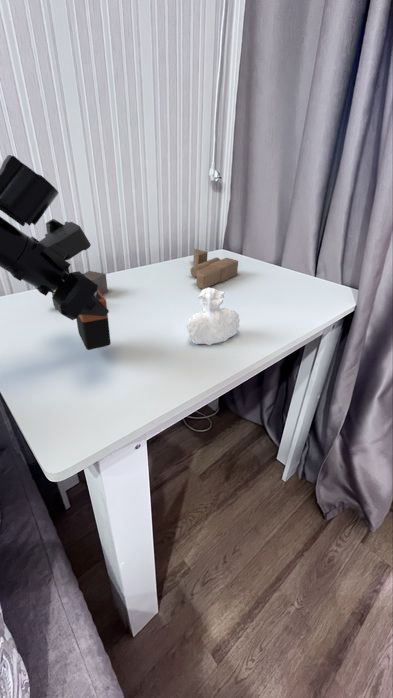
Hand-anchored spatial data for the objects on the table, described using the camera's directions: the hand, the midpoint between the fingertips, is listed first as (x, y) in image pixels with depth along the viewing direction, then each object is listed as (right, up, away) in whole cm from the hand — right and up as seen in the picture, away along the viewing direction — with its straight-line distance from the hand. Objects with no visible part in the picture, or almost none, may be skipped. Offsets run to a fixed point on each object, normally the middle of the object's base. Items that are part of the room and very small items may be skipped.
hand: (97, 305), depth 58 cm
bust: (+20, -5, +11) cm, 24 cm away
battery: (-1, -6, +3) cm, 7 cm away
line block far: (-9, +7, +27) cm, 30 cm away
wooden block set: (+18, +14, +42) cm, 48 cm away
